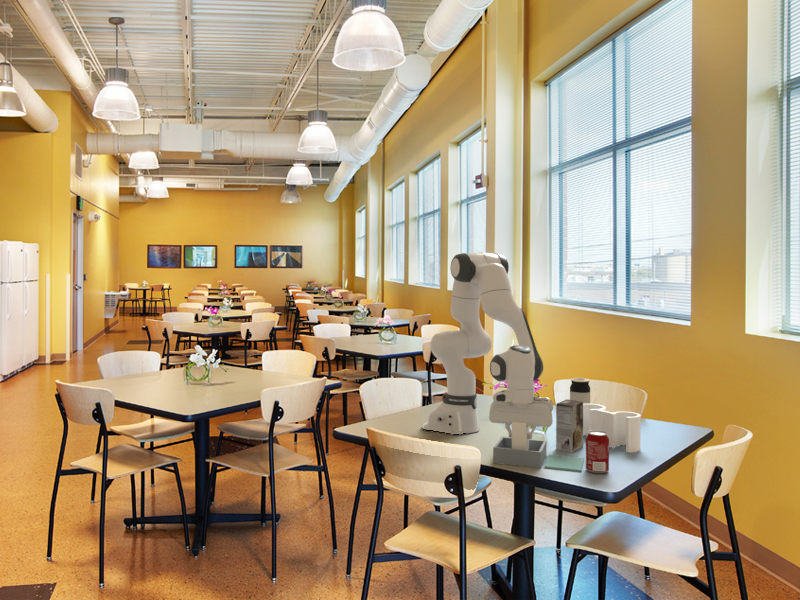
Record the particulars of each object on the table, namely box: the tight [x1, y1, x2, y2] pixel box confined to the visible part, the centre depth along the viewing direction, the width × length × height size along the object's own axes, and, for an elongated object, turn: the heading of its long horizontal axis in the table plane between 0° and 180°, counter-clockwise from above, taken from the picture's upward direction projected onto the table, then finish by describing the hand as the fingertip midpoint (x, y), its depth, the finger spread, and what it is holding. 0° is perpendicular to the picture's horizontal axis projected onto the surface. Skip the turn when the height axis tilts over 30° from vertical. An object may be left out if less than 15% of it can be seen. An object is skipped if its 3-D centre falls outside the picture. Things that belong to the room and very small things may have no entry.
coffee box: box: [555, 399, 584, 453], centre depth 206 cm, size 9×6×16 cm
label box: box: [511, 421, 530, 450], centre depth 193 cm, size 4×7×10 cm, turn 160°
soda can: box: [585, 430, 610, 475], centre depth 181 cm, size 7×7×12 cm
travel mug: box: [569, 377, 591, 404], centre depth 242 cm, size 8×8×18 cm
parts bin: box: [492, 436, 547, 469], centre depth 194 cm, size 15×14×5 cm
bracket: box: [583, 403, 642, 453], centre depth 213 cm, size 25×10×12 cm, turn 32°
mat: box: [544, 454, 585, 473], centre depth 189 cm, size 11×13×1 cm
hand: (520, 437), depth 193 cm, fingers closed on label box, 5 cm apart
